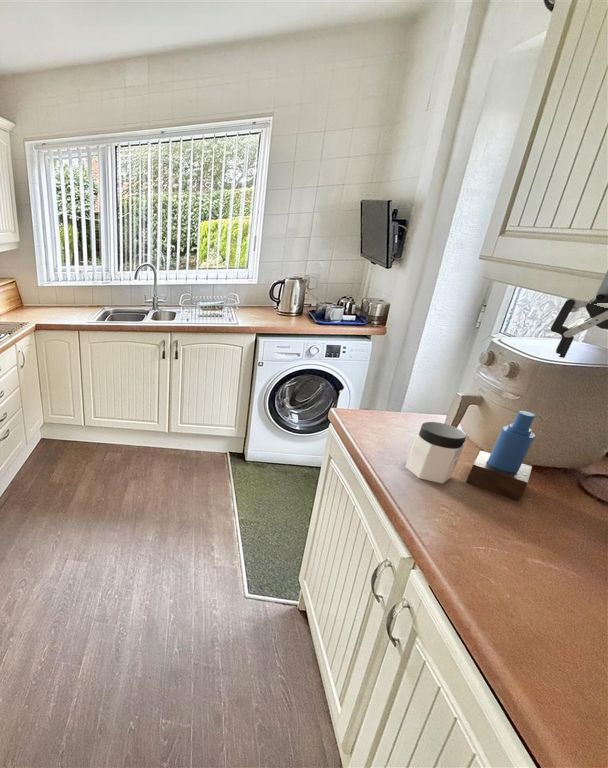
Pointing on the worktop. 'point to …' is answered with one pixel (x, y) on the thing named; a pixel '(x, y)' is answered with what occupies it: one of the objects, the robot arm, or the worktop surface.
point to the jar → (436, 451)
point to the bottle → (513, 443)
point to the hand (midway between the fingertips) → (596, 362)
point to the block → (498, 478)
